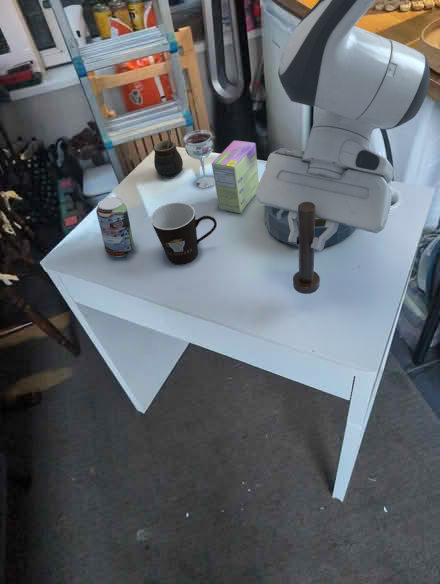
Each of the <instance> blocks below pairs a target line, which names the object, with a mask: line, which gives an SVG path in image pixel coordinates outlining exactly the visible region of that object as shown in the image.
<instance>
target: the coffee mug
mask: <svg viewBox="0 0 440 584" xmlns="http://www.w3.org/2000/svg"><path fill="white" fill-rule="evenodd" d="M196 218H197V217H196V210H195V208H194V206H193V205H191V204H189V203H187V202H181V201H177V202H175V201H174V202H170V203H166V204H163V205H161V206H159V207H158V208H157V209H155V210H154V211H153V213H152V214H151V215H150V223H151V225H152V228H153V230H154V231H155V234H156V236H157V239H158V240H159V243H160V245H161V246H162V249H163V252H164V253H165V255H166V257H167V259H168V262H169V263H170V264H173V265H176V266H184V265H188V264H191V263H192V262H193V261H195V260H196V259H197V257H198V255H199V249H198V248H199V247H198V245H199V244H200V242H202V241H203V240H205V239H206V238H207V237H209V236H210V235H211V234H212V233H213V232H214V231H215V230H216V229H217V224H218V223H217V219H216V218H215V217H213V216H210V215H203V216H201V217H199V218H197V219H196ZM203 220H210V221H212V222H213V226H212V227H211V229H210V230H209V231H207V232H206V233H204V235H202V236H201V237H200V238H198V234H197V228H198V226H199V224H200V223H201V221H203Z"/></svg>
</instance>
